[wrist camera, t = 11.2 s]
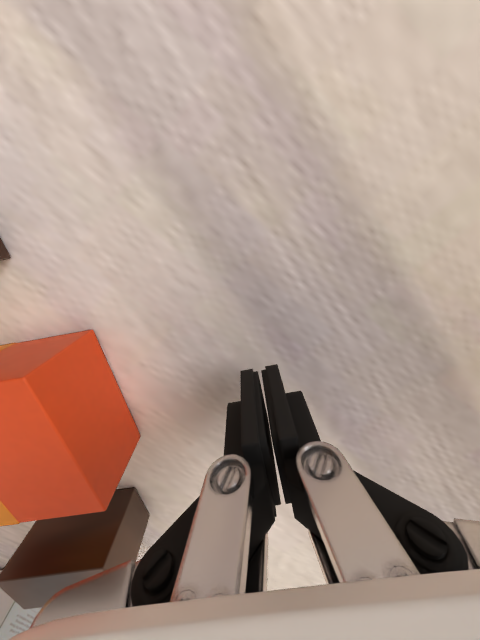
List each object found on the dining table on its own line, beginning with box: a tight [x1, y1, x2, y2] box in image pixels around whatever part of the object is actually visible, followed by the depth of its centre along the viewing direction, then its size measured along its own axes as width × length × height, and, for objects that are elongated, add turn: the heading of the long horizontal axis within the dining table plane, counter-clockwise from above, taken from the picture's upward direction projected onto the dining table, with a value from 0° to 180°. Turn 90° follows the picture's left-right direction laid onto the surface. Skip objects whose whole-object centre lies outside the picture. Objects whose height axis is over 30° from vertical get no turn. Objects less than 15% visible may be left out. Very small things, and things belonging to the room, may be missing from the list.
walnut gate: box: [0, 238, 149, 609], centre depth 11 cm, size 6×21×4 cm, turn 11°
